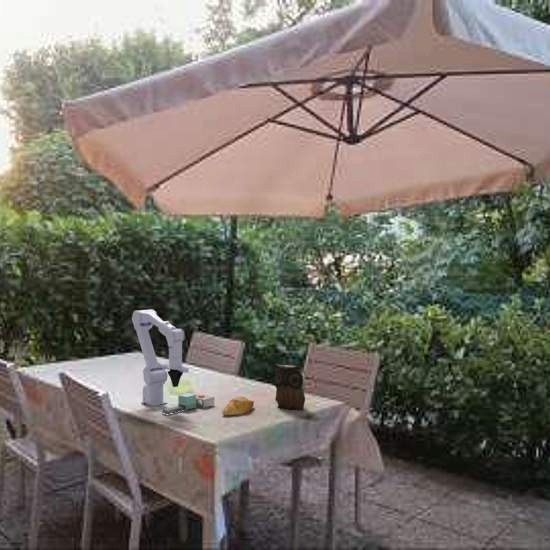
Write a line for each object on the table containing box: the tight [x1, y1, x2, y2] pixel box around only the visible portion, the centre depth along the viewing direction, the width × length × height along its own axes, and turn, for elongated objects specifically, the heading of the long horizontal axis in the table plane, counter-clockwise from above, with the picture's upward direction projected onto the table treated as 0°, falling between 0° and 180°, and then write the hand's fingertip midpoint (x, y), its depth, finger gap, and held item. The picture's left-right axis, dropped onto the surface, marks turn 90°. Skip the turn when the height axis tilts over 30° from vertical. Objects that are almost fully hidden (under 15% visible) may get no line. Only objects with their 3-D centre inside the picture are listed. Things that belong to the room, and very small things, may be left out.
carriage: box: [177, 392, 196, 411], centre depth 321 cm, size 5×6×6 cm
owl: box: [274, 363, 306, 411], centre depth 325 cm, size 13×13×20 cm
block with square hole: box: [195, 393, 215, 409], centre depth 328 cm, size 10×7×4 cm
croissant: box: [221, 396, 255, 416], centre depth 317 cm, size 21×10×8 cm, turn 146°
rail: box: [162, 403, 199, 415], centre depth 318 cm, size 3×19×2 cm, turn 142°
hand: (175, 386), depth 319 cm, fingers closed
